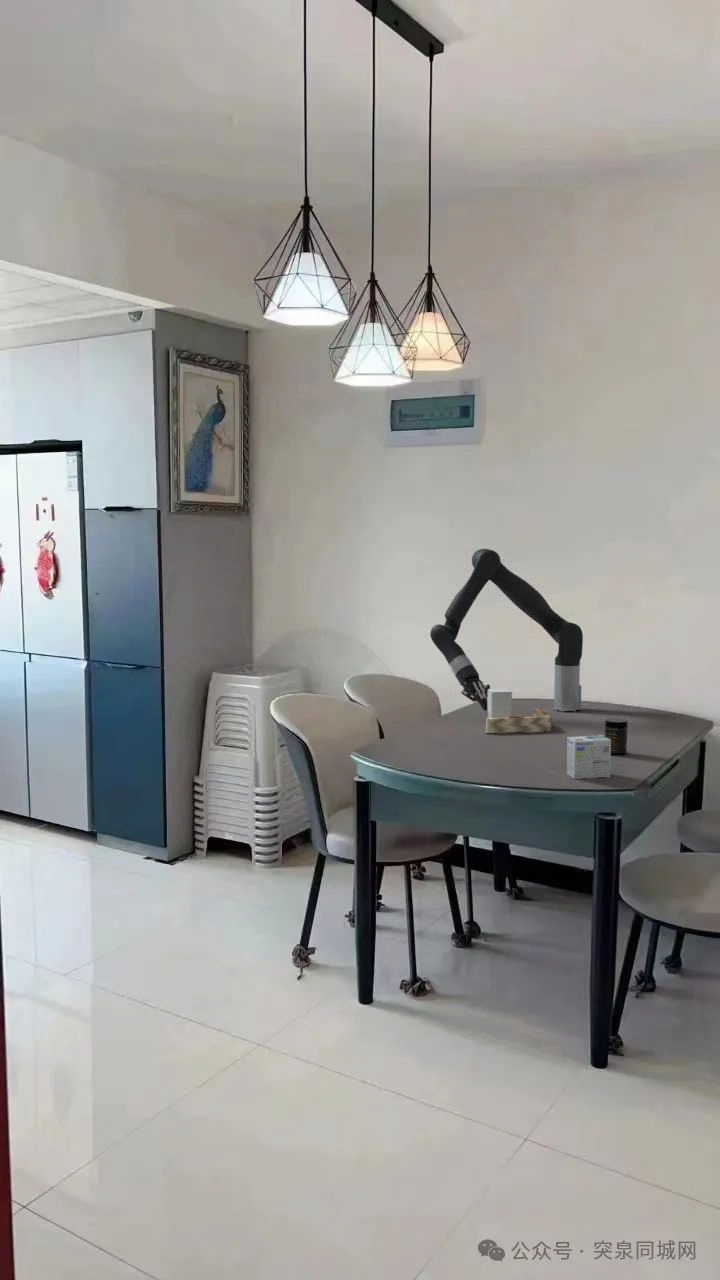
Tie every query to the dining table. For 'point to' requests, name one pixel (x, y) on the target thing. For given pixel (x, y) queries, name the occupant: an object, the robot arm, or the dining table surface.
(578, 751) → the light bulb box
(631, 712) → the dining table surface
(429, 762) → the dining table surface
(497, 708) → the supplement box
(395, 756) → the dining table surface
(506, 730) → the wooden corner bracket
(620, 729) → the supplement container
